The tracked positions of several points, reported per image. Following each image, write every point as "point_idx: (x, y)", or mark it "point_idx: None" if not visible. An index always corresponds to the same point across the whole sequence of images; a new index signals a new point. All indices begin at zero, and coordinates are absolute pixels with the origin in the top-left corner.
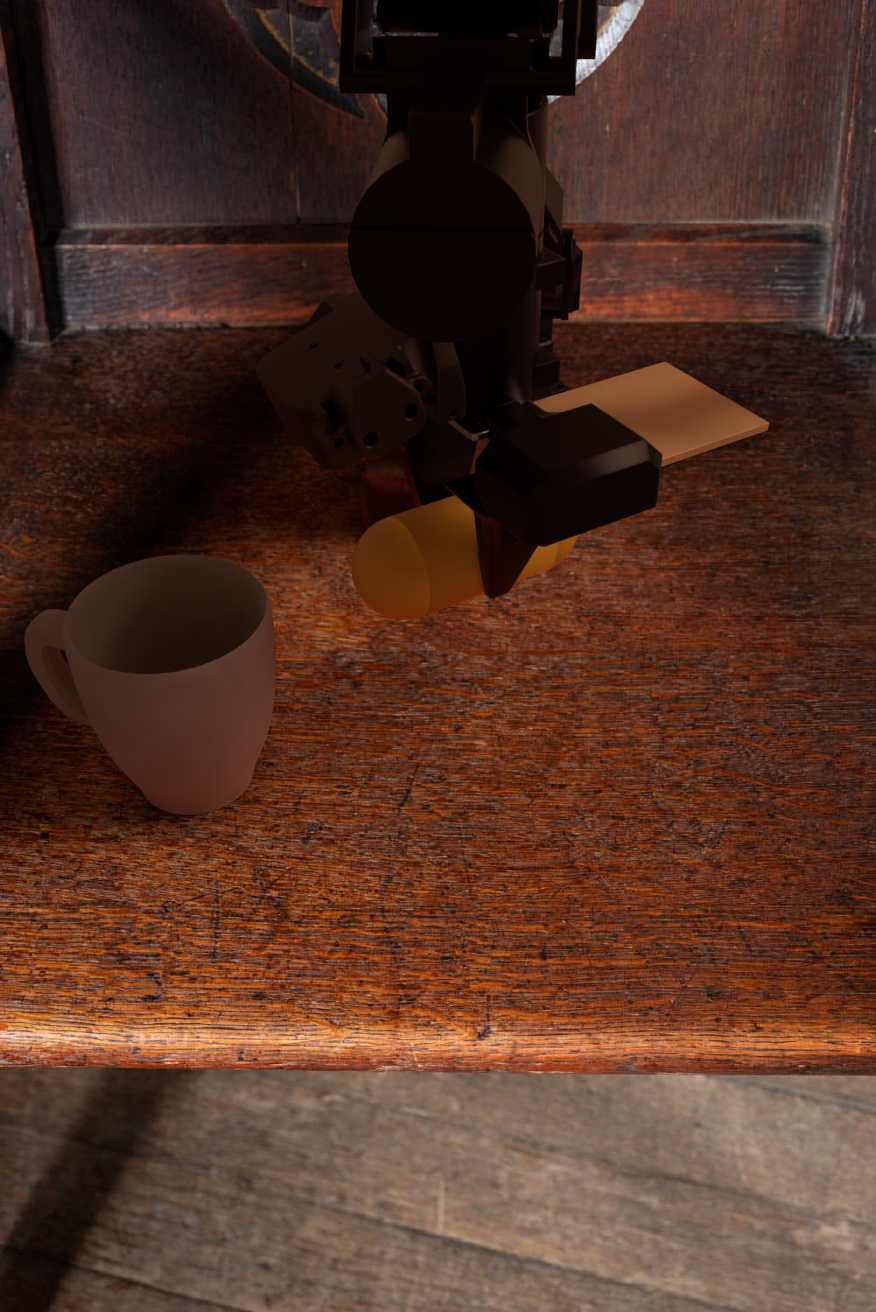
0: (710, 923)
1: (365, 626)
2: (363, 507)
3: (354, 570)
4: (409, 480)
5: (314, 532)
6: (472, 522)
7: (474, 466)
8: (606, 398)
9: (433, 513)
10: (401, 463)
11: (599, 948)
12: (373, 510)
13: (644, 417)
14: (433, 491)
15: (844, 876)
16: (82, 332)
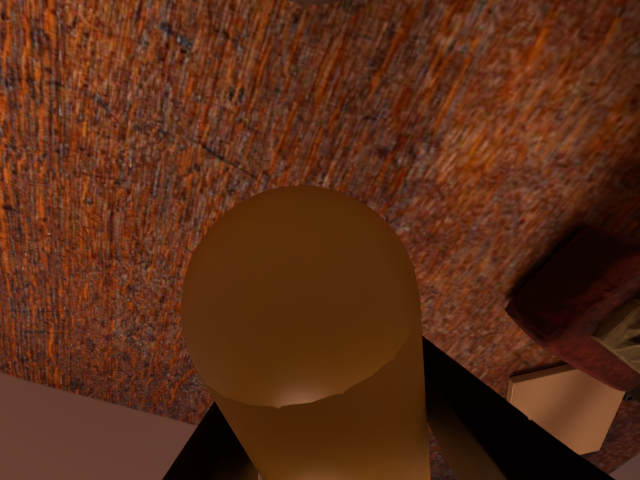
0: (50, 319)
1: (457, 184)
2: (611, 233)
3: (293, 200)
4: (513, 427)
5: (619, 176)
6: None
7: (579, 349)
8: (593, 416)
9: (330, 460)
10: (577, 465)
11: (19, 248)
12: (600, 240)
13: (555, 427)
14: (457, 435)
15: (95, 390)
16: None
